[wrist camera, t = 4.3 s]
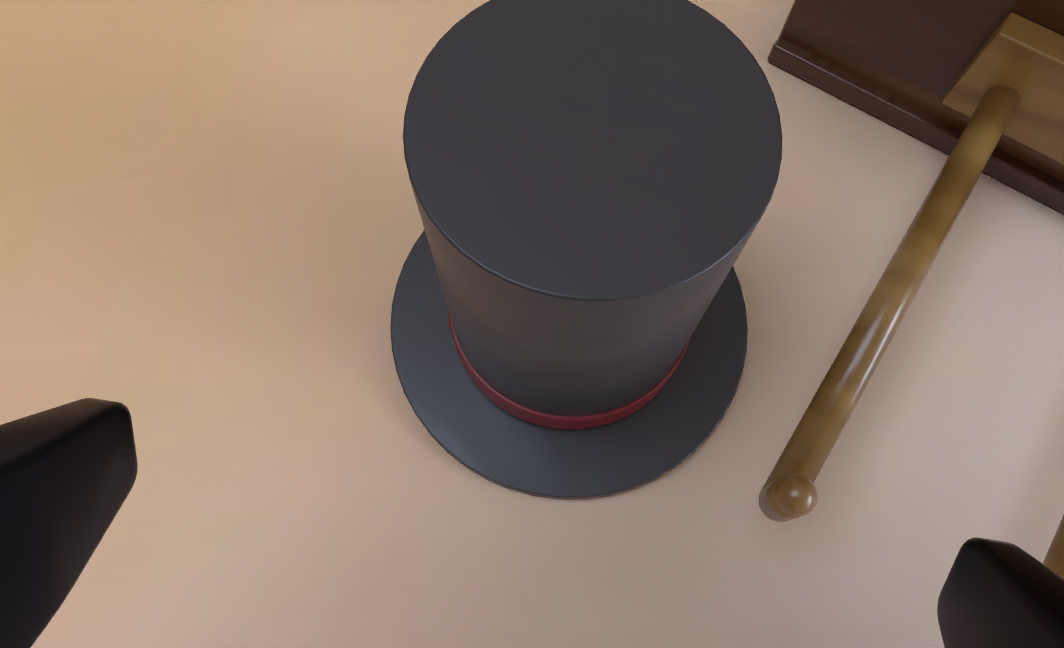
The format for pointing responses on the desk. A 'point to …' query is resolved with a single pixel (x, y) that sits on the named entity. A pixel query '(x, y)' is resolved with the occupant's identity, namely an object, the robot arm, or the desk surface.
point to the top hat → (581, 238)
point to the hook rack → (943, 122)
